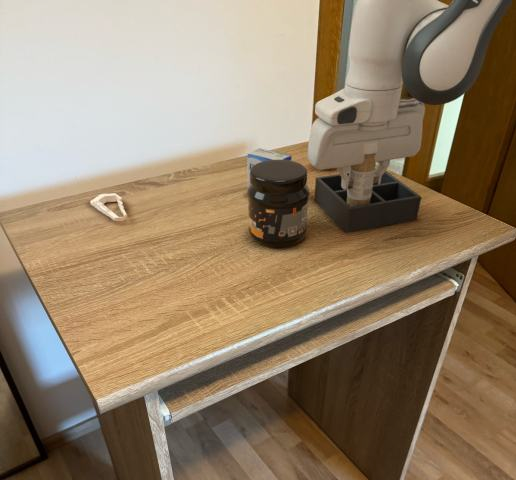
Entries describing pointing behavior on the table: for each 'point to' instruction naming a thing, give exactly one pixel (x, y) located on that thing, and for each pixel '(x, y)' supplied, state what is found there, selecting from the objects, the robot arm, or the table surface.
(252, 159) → the medicine box
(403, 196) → the rack
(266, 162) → the supplement container
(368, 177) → the sprinkles bottle
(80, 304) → the table surface
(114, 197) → the cream triangular ring
